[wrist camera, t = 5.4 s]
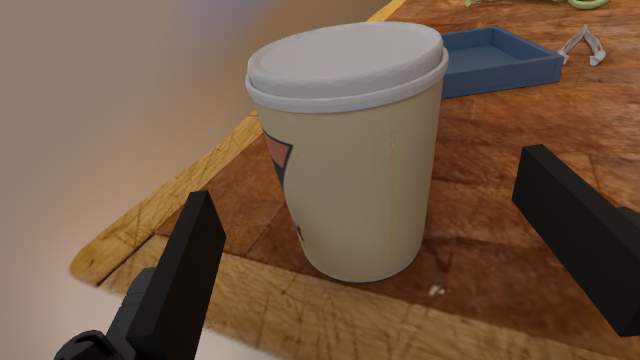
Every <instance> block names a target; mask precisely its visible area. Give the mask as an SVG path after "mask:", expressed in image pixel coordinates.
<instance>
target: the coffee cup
mask: <svg viewBox="0 0 640 360" xmlns="http://www.w3.org/2000/svg"><path fill="white" fill-rule="evenodd" d="M448 62H449V55H448V51H447V49H446V48H445V47H444V46H443V40H442V37H441V35H440V34H439V33H438V32H437V31H436V30H434V29H433V28H430V27H427V26H424V25H420V24H414V23H406V22H365V23H354V24H346V25H338V26H331V27H326V28H320V29H315V30H311V31H307V32H303V33H300V34H296V35H292V36H289V37H286V38H283V39H280V40H278V41H275V42H273V43H271V44H269V45H266V46H264V47H263V48H261V49H260V50H258V51H257V52H255V53H254V54H253V55H252V56H251V58H250V59H249V62H248V73H247V75H246V77H245V85H246V88H247V91H248V93H249V95H250V97H251V98H252V99H253V100H254V103H255V107H256V110H257V114H258V117H259V120H260V123H261V126H262V129H263V132H264V135H265V139H266V142H267V145H268V148H269V151H270V154H271V157H272V160H273V163H274V166H275V169H276V172H277V175H278V178H279V181H280V184H281V187H282V190H283V193H284V196H285V199H286V202H287V205H288V208H289V211H290V214H291V217H292V220H293V223H294V226H295V229H296V232H297V234H298V237H299V240H300V243H301V245H302V248H303V251H304V253H305V255H306V257H307V258H308V260H309V261H310V263H311V264H312V265H313V266H314V267H315V268H316V269H317V270H319V271H320V272H322V273H324V274H325V275H327V276H329V277H332V278H334V279H338V280H342V281H347V282H373V281H378V280H382V279H385V278H388V277H391V276H393V275H395V274H397V273H398V272H400V271H402V270H403V269H405V268H406V267H407V266H408V265H409V264H410V263H411V262H412V261H413V260H414V258H415V257H416V255H417V254H418V252H419V250H420V247H421V243H422V239H423V233H424V227H425V219H426V212H427V205H428V197H429V190H430V182H431V175H432V167H433V160H434V152H435V144H436V136H437V128H438V120H439V112H440V105H441V95H442V84H443V76H444V75H445V73H446V71H447V68H448Z"/></svg>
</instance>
